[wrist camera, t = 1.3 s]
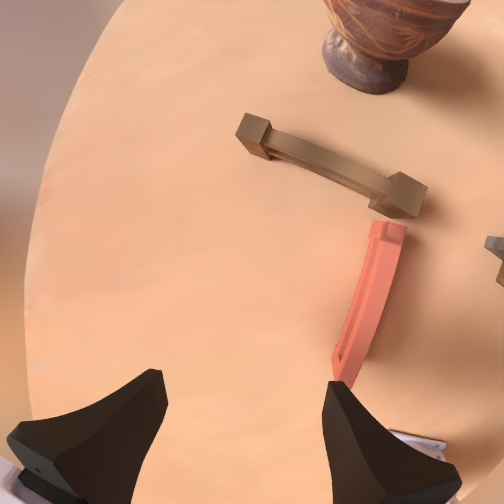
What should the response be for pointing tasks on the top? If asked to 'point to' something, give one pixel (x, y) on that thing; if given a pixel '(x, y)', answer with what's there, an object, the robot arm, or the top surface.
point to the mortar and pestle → (383, 38)
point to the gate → (368, 300)
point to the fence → (345, 174)
